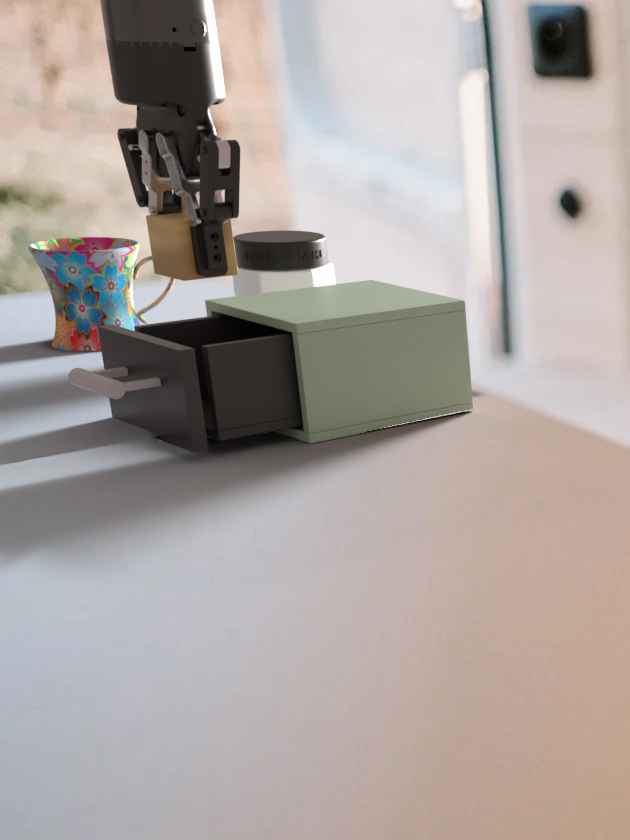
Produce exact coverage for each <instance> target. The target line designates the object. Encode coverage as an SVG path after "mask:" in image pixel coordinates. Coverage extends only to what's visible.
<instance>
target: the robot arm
mask: <svg viewBox="0 0 630 840" xmlns="http://www.w3.org/2000/svg"><path fill="white" fill-rule="evenodd" d="M99 2H100V10H101V16H102V22H103V29H104V34H105V43H106V49H107V55H108V62H109V68H110V76H111V81H112V82H111V83H112V88H113V93H114V97H115V99H116V101H118V103H121V104H123V105H127V106H128V105H129V106H136V120H135V127H125V128H124V127H123V128H121V127H120V128H118V129H117V139H118V143H119V146H120V150H121V153H122V157H123V160H124V162H125V166H126V171H127V174H128V178H129V181H130V184H131V187H132V192H133V194H134V198H135V202H136V204H137V206H138V207H139V208H147V209H148V213H149V215H159V214H171V213H184V212H187V215H188V219H189V222H190V224H191V225H192V226H193V227H190V232H191V239H192V246H193V253H194V260H195V267H196V272H197V274H198V275H200V276H204V277H212V276H221V275H225V274H226V273H227V271H228V265H227V258H226V250H225V243H224V236H223V228H222V225H223V224H226V223H227V220H228V219H231V220H232V219H238V217H239V216H240V189H241V188H240V183H241V181H240V180H241V146H240V143H239V141H238V140H236V139H223V138H221V137H220V136H218V135H217V130H216V127H215V125H214V122H213V118H212V115H211V112H210V108H211V106H218V105H221V104H223V103H224V102H225V100H226V97H227V95H226V87H225V81H224V79H225V78H224V71H223V64H222V56H221V49H220V42H219V33H218V28H217V27H218V26H217V19H216V11H215V6H214V5H215V4H214V1H213V0H99ZM196 180H199V181H196ZM147 188H148V190H147ZM223 191H224V200H223V196H222V192H223ZM197 196H199V201H198V198H197Z"/></svg>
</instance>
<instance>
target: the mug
mask: <svg viewBox="0 0 630 840" xmlns="http://www.w3.org/2000/svg"><path fill="white" fill-rule="evenodd" d="M140 248H141V244H140V242H139V241H137V240H135V239H130V238H122V237H111V236H110V237H109V236H107V237H106V236H79V237H63V238H53V239H45V240H39V241H35V242H32V243H30V244H29V245H28V246H27V250H28V251H29V253H30V254H31V255H32V258H33V259H34V260H35V262H36V264H37V265H38V267H39V269H40V271H41V273H42V275H43V277H44V278H45V282H46V283H47V286H48V289H49V291H50V295H51V298H52V303H53V308H54V315H55V330H54V335H53V340H52V344H51V347H53V348H54V349H58V350H62V351H71V352H102V351H101V345H100V339H99V333H98V326H104V325H116V326H119V327H122V328H126V329H129V330H133V331H135V329H134V326H139V325H140V323H139V322H141V323H142V324H143V325H147V324H149V323H148V320H147V319H145V318H144V317H143V315H144V314H146V313H148V312H149V311H151V310H153V309H154V308H156V307H157V306H158V305H160V304H161V303H162V302H163V301H164V299H166V298H167V296H168V295H169V293H170V292H171V290H172V288H173V286H174V284H175V281H176V279H174V278H170V277H169V281H168V283H167V286H166V288H165V289H164V291H163V292H162V293H161V294H160V295H159V296H158V297H157V298H156V299H155V300H154V301H152V302H151V303H150V304H148V305H146V306H145V307H143V308H141V309H140V310H138V311H137V312H136V310H135V309H136V308H135V303H134V297H133V296H134V295H133V280H134V281H137V279H138V274H139V271H140V269H141V268H142V266H144V265H145V264H146V263H149V262H151V261H152V262H153V260H152V255H149V256H146V257H144V258H142V259H140V260H139V261H138V262H137V264H136V261H137V257H138V253H139V250H140ZM135 264H136V265H135Z"/></svg>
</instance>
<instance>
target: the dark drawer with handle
mask: <svg viewBox="0 0 630 840" xmlns="http://www.w3.org/2000/svg"><path fill="white" fill-rule="evenodd" d="M134 329H135V331H133V330H129V329H126V328H122V327H119V326H116V325H104V326H98V333H99V339H100V345H101V351H100V352H101V357H102V362H103V364H102V365H103V369H99V370H92V371H90V370H87V369H84V368H81V367H74V368H72V369H70V371H69V372H68V375H67V378H68V382H69V383H70V384H71V385H72V386H75V387H78V388H81V389H83V390H86V391H90V392H91V393H95V394H97V395H101V396H103V397H107V398H108V399H109V407H110V410H111V418H112V419H115V420H118V421H120V422H123V423H125V424H128V425H131V426H135V427H137V428H140V429H141V430H142V429H143V430H146V431H148V432H150V433H154V434H156V435H154V436H151V438H152V439H155V440H158V441H160V442H163V443H166V444H168V445H172V446H174V447H177V448H180V449H183V450H185V451H187V452H191V453H193V454H195V453H200V452H201V453H202V452H205V451H209V444H208V438H209V439H213V440H216V441H219V442H223V441H227V440H234V439H239V438H244V437H248V436H254V435H259V434H260V435H261V434H265V433H270V432H274V431H276V430H281V429H286V428H292V427H297V426H302V425H303V419H302V410H301V402H300V394H299V385H298V377H297V368H296V360H295V351H294V343H293V335H292V333H293V332H289V331H285V330H282V329H278V328H274V327H270V326H267V325H263V324H259V323H255V322H252V321H248V320H244V319H240V318H237V317H233V316H229V315H225V314H224V315H216V316H209V317H207V316H202V317H194V318H188V319H187V318H185V319H179V320H171V321H163V322H155V323H147V324H139V326H134Z"/></svg>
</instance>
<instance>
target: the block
mask: <svg viewBox="0 0 630 840" xmlns="http://www.w3.org/2000/svg"><path fill="white" fill-rule="evenodd" d="M145 219H146V225H147V233H148V240H149V247H150V252H151V256H152V264H153V265H152V267H153V272H154V273H153V274H155V275H159V276H162V277H166V278H169V279H170V278H174V279H175V280H179V281H183V282H186V281H195V280H204V279H205V280H206V279H212V278H221V277H232V275H238V269H237V262H236V254H235V246H234V239H233V237H234V232H233V225H232V218H231V219H228V220H227V223H226V224H223V225H222V228H223V236H224V243H225V250H226V258H227V265H228V271H227V273H226V274H225V275H221V276H212V277H204V276H200V275H198V274H197V272H196V267H195V260H194V253H193V246H192V239H191V232H190V227H193V226H192V225H191V224H190V222H189V219H188V215H187V212H184V213H171V214H159V215H150V214H148V215H145Z"/></svg>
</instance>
